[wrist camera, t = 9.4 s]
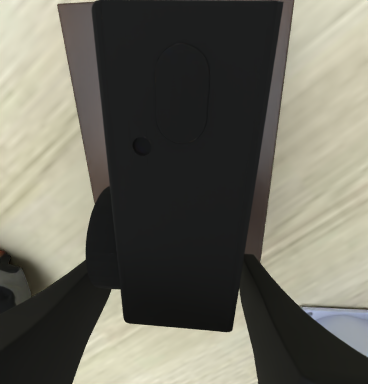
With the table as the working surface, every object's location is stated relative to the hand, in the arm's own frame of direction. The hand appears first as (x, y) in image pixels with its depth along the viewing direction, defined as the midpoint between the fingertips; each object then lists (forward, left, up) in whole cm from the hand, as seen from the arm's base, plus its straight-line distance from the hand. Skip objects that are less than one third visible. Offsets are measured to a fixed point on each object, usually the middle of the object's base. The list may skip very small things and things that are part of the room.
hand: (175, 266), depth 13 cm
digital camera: (0, -6, -3) cm, 6 cm away
